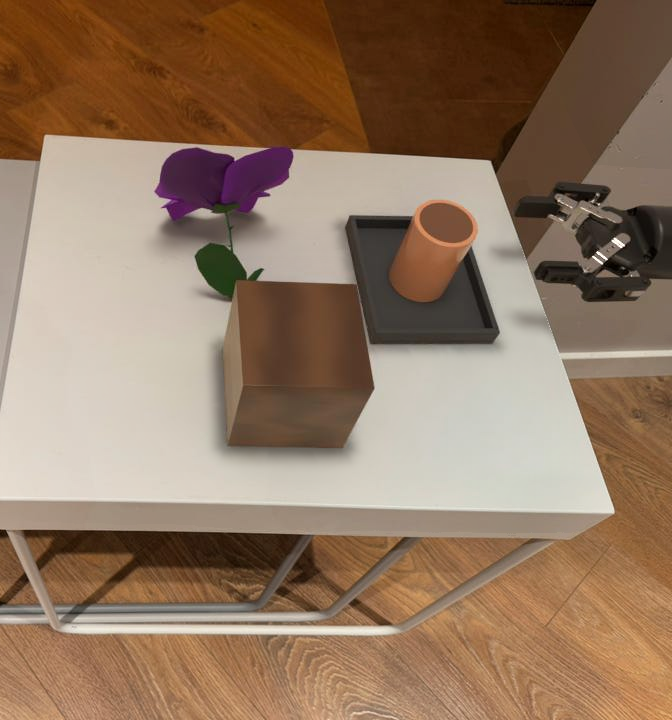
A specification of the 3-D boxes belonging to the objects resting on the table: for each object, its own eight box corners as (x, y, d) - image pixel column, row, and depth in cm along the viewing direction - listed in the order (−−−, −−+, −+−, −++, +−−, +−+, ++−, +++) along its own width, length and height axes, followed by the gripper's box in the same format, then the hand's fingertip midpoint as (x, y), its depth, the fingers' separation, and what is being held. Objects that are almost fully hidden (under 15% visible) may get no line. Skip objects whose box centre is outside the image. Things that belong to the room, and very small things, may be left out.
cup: (457, 280, 85) (490, 224, 77) (424, 312, 82) (455, 257, 74) (410, 247, 87) (437, 189, 79) (376, 277, 84) (402, 220, 77)
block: (329, 351, 79) (356, 283, 70) (342, 447, 73) (375, 388, 64) (222, 348, 78) (236, 279, 69) (227, 445, 72) (243, 385, 63)
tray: (492, 343, 81) (500, 332, 79) (370, 343, 80) (375, 332, 78) (455, 228, 90) (462, 216, 88) (345, 227, 89) (349, 214, 87)
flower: (286, 299, 89) (266, 185, 89) (332, 272, 74) (308, 136, 75) (161, 316, 86) (143, 198, 87) (183, 292, 71) (160, 150, 72)
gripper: (673, 167, 81) (524, 161, 80) (728, 273, 73) (564, 268, 72) (633, 217, 87) (495, 212, 86) (680, 320, 79) (528, 316, 78)
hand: (526, 238), depth 79 cm, fingers open, 8 cm apart
